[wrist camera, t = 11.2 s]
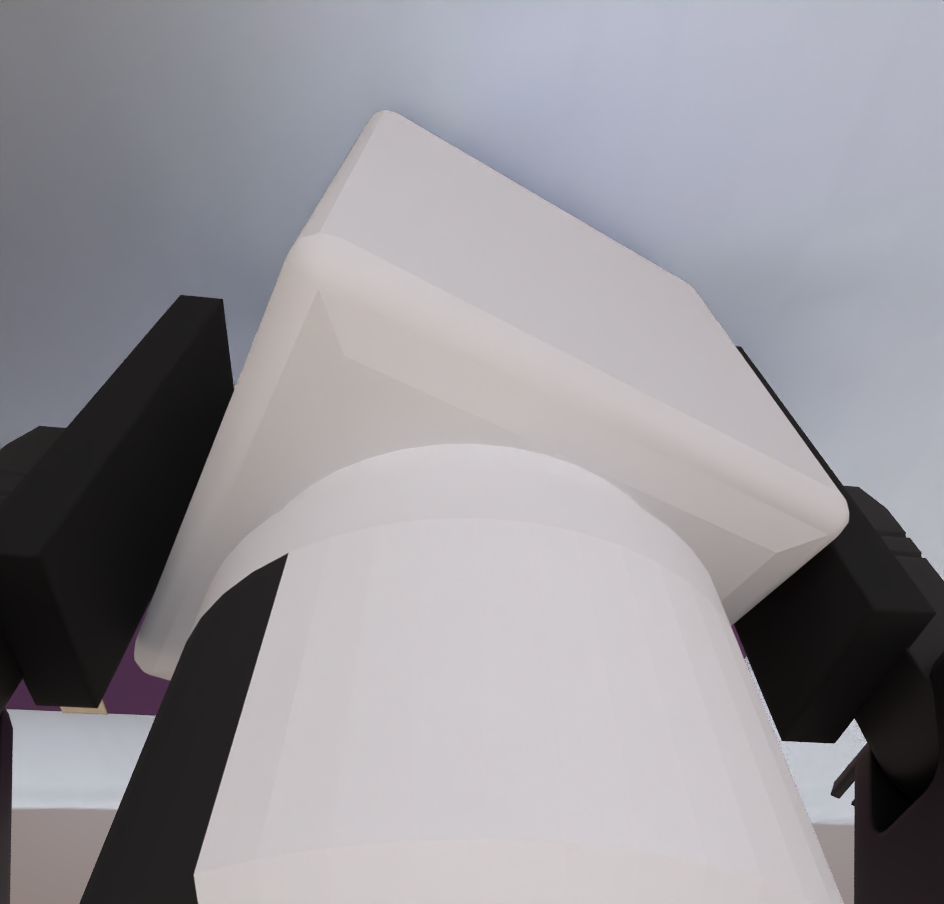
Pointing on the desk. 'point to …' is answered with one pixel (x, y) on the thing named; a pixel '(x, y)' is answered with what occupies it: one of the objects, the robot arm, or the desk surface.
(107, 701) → the towel
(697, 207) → the desk surface
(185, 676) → the medicine bottle
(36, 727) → the desk surface
